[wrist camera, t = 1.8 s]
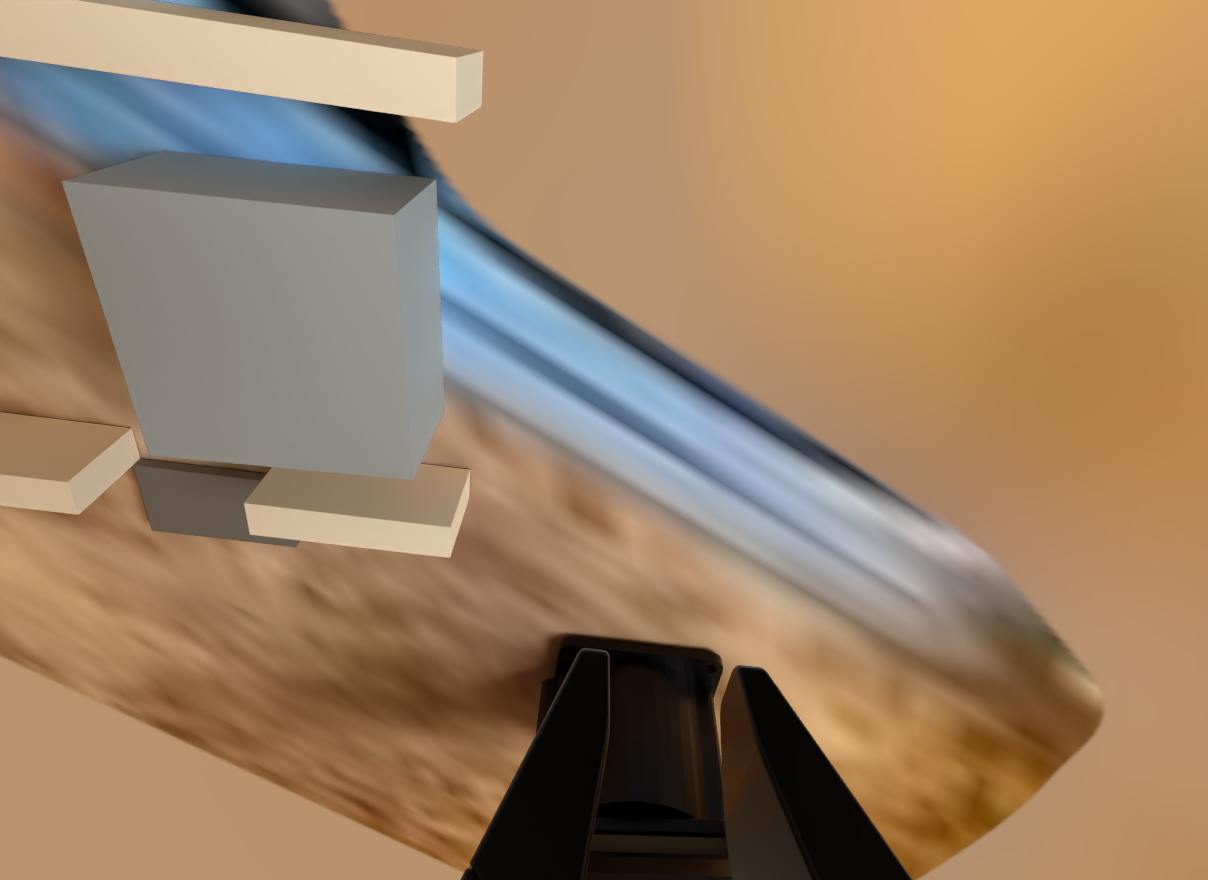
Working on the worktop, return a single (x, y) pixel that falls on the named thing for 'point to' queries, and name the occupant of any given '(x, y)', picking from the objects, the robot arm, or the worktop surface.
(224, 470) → the block
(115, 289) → the slate block
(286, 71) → the trap lane
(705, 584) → the worktop surface
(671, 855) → the robot arm
